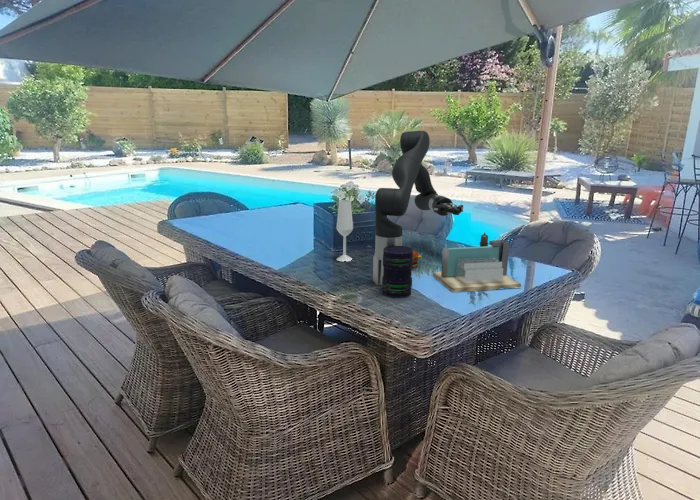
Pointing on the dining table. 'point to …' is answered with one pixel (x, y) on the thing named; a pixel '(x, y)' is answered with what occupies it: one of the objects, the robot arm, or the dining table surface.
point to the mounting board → (458, 286)
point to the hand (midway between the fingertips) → (457, 212)
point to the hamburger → (415, 259)
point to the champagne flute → (344, 225)
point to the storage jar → (397, 271)
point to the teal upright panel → (464, 256)
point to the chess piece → (484, 240)
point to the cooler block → (484, 266)
